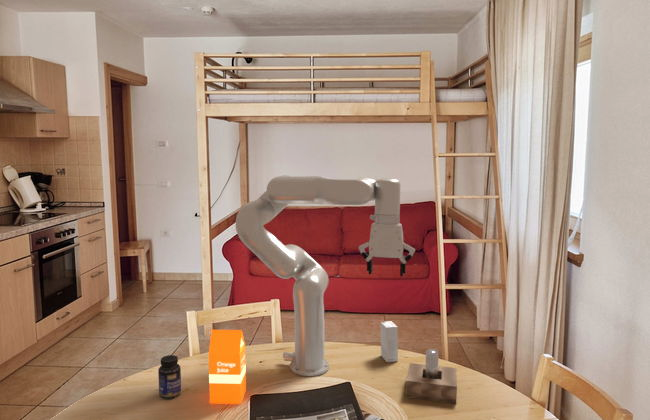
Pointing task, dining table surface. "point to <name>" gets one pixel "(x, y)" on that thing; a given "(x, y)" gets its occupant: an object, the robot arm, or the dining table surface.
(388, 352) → the skincare box
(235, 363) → the orange juice
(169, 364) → the pill bottle
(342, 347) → the dining table surface
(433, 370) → the pin
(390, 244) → the robot arm
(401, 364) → the dining table surface
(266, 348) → the dining table surface
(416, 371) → the socket block
